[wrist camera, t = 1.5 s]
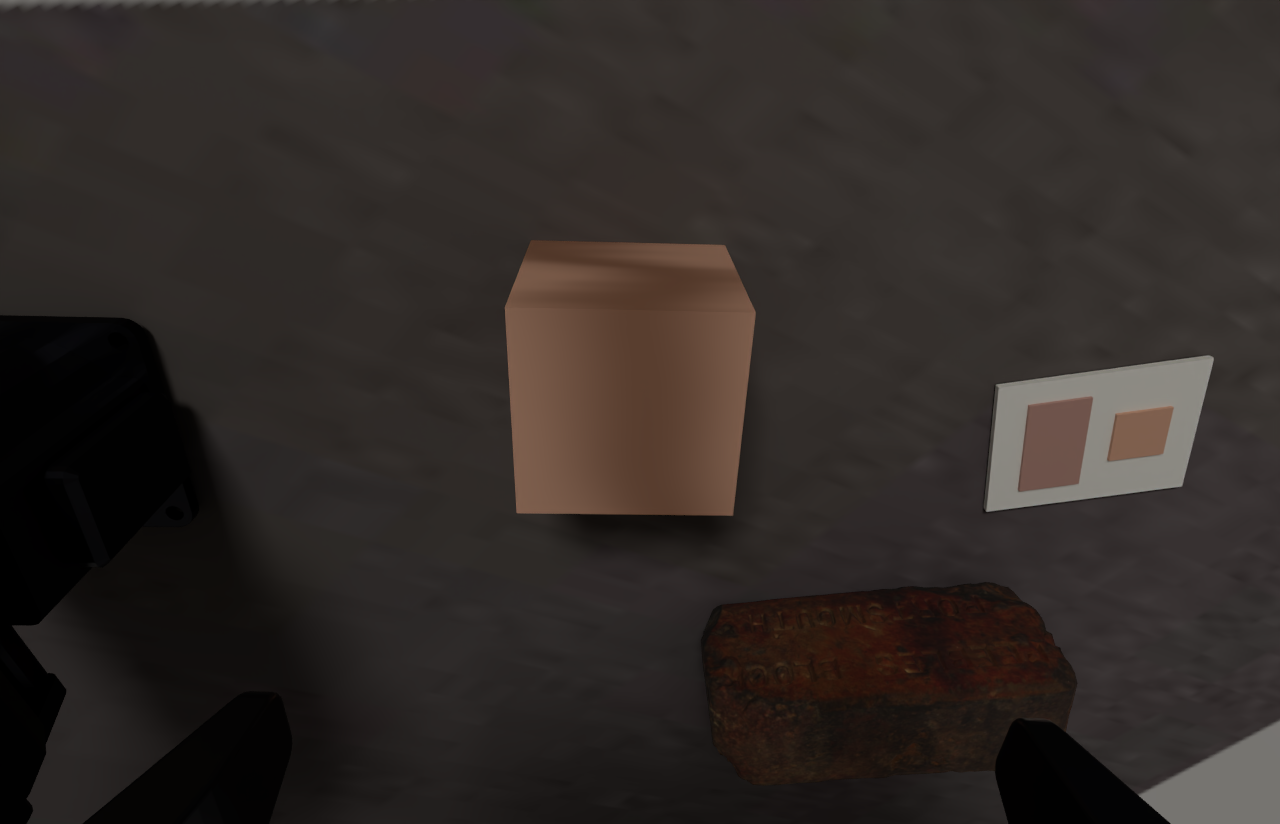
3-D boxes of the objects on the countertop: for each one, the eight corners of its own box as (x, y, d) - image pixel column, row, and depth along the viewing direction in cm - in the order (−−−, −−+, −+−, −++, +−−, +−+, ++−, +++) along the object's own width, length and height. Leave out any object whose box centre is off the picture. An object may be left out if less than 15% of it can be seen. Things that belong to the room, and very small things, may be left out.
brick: (1010, 568, 25) (1088, 679, 21) (995, 653, 27) (1064, 770, 23) (695, 597, 25) (710, 712, 21) (702, 680, 27) (717, 800, 23)
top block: (537, 410, 21) (516, 513, 17) (531, 239, 19) (505, 307, 15) (709, 413, 22) (732, 515, 17) (724, 244, 19) (755, 312, 15)
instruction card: (983, 507, 23) (987, 514, 23) (995, 384, 21) (1000, 389, 21) (1178, 482, 23) (1183, 488, 23) (1208, 355, 21) (1216, 359, 21)
